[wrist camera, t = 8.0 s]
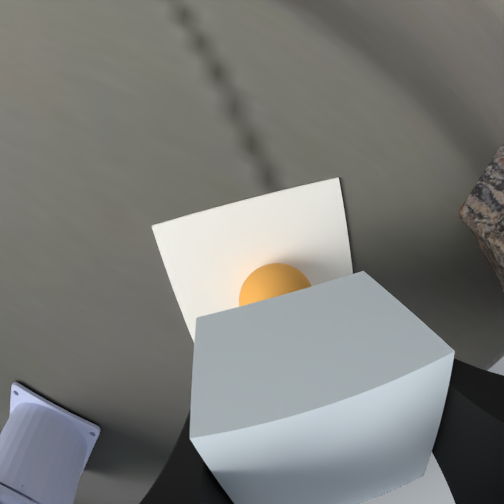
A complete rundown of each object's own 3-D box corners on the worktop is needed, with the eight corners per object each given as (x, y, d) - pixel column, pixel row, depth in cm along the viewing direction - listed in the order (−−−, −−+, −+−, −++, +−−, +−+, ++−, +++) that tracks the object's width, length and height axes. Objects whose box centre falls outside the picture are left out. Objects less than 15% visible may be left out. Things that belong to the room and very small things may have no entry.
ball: (264, 236, 16) (266, 271, 19) (218, 296, 14) (229, 323, 18) (333, 272, 15) (322, 303, 18) (291, 341, 13) (287, 359, 16)
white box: (370, 389, 13) (423, 475, 8) (241, 428, 12) (256, 531, 7) (363, 270, 11) (454, 350, 6) (196, 317, 10) (189, 438, 6)
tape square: (357, 331, 20) (358, 333, 20) (207, 373, 19) (207, 375, 19) (337, 177, 16) (338, 177, 16) (152, 225, 16) (151, 226, 16)
